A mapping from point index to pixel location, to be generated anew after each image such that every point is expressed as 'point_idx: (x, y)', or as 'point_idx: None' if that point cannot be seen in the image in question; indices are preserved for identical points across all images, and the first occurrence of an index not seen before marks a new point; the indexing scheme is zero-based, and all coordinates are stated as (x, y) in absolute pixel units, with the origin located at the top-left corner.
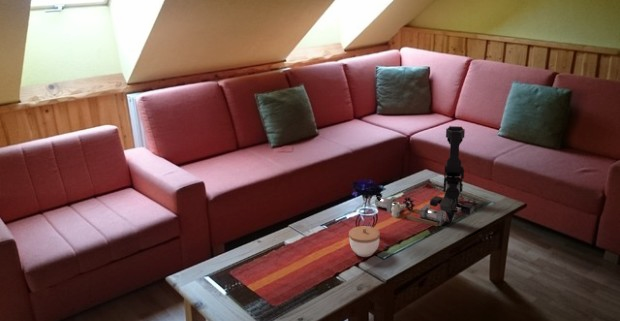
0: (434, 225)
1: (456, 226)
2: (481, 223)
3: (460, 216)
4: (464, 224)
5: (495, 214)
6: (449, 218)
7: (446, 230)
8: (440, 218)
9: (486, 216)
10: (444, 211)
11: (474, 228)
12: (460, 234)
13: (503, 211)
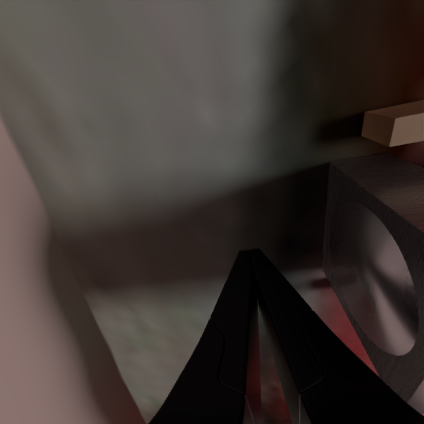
0: (407, 103)
1: (193, 242)
2: (119, 343)
3: (260, 347)
4: (173, 294)
5: (150, 404)
6: (266, 280)
7: (209, 101)
8: (401, 207)
9: (161, 387)
10: (413, 375)
11: (86, 288)
12: (39, 131)
13: (150, 420)
